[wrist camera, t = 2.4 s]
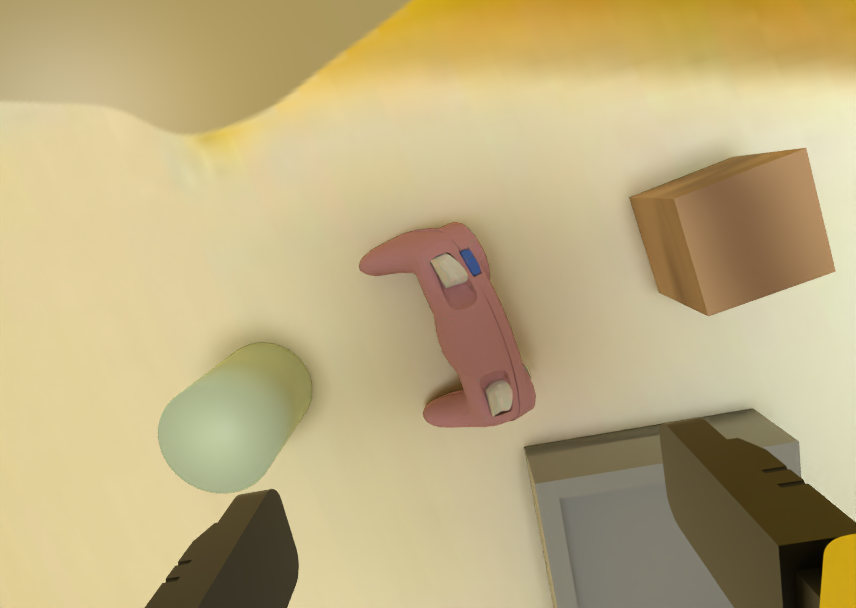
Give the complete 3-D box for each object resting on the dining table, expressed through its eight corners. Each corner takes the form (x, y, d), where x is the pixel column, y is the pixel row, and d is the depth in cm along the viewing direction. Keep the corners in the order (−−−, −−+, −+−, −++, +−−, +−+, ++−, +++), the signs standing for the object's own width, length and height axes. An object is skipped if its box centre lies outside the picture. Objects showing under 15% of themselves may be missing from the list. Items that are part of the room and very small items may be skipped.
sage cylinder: (298, 334, 26) (255, 375, 20) (322, 421, 27) (287, 483, 22) (209, 352, 27) (142, 397, 21) (236, 436, 28) (179, 501, 22)
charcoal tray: (753, 408, 26) (798, 441, 23) (772, 658, 29) (815, 719, 26) (524, 447, 27) (534, 483, 24) (567, 683, 30) (582, 745, 27)
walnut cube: (732, 156, 24) (805, 148, 19) (758, 255, 24) (835, 271, 20) (628, 197, 24) (673, 198, 19) (658, 292, 25) (708, 316, 20)
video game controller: (491, 386, 28) (572, 416, 22) (422, 426, 27) (486, 472, 20) (426, 221, 26) (492, 200, 20) (348, 254, 25) (392, 243, 18)
